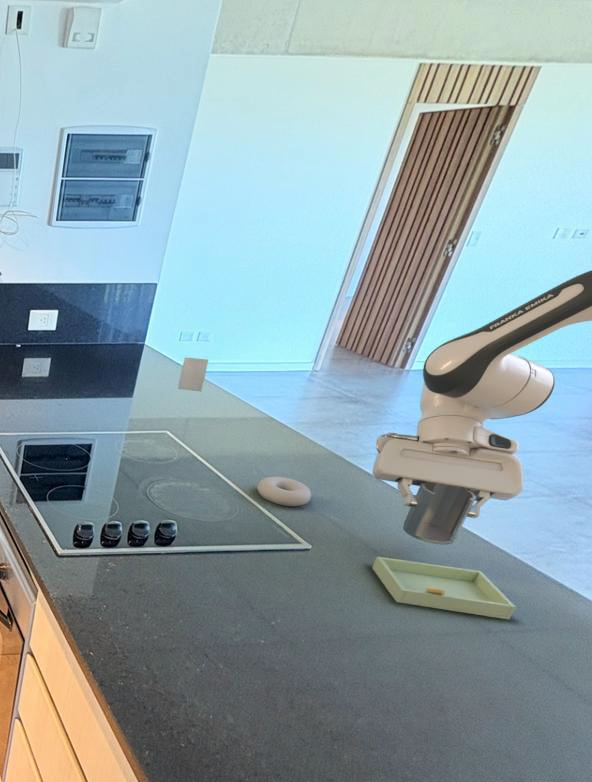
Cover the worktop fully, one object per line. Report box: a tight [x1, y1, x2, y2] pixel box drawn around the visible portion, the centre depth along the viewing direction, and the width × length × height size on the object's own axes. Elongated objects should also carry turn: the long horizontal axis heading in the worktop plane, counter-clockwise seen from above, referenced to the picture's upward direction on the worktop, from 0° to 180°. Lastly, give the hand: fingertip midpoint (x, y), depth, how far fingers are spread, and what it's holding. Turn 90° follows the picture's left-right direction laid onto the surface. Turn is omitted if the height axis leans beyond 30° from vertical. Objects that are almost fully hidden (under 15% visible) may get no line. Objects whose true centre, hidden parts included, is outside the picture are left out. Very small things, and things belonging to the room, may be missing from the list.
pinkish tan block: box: [177, 356, 209, 392], centre depth 198 cm, size 4×7×10 cm, turn 66°
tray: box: [371, 556, 517, 620], centre depth 104 cm, size 15×10×2 cm
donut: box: [256, 476, 312, 507], centre depth 133 cm, size 10×4×10 cm
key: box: [426, 589, 444, 594], centre depth 101 cm, size 5×2×1 cm
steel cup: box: [402, 481, 476, 546], centre depth 110 cm, size 7×7×9 cm
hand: (440, 510), depth 109 cm, fingers closed on steel cup, 7 cm apart
